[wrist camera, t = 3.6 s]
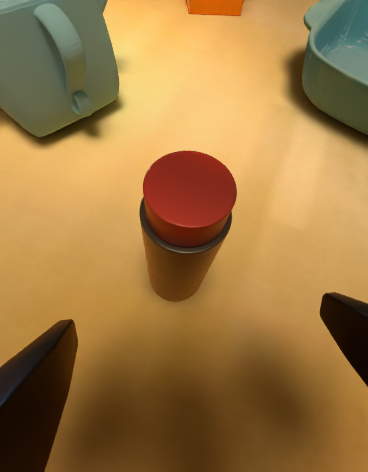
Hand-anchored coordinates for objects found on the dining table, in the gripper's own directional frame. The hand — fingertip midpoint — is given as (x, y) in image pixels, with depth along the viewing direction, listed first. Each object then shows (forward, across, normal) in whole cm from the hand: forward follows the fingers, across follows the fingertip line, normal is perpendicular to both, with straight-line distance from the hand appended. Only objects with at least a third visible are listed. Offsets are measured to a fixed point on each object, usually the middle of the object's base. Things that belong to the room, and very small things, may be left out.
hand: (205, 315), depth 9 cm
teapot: (+30, +13, -12) cm, 35 cm away
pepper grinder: (+12, 0, +5) cm, 14 cm away
